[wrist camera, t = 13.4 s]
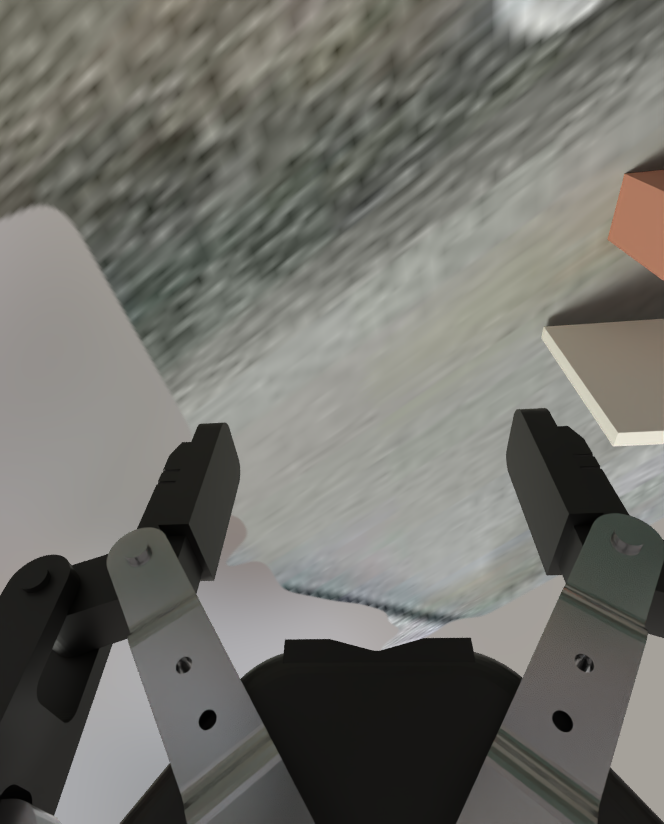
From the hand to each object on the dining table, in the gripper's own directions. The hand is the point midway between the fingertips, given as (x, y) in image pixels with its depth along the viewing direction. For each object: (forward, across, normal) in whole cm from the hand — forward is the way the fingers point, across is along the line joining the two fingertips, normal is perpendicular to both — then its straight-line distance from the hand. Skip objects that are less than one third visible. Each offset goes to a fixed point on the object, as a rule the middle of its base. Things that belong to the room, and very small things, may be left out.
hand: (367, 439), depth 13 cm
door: (+29, -25, +14) cm, 41 cm away
